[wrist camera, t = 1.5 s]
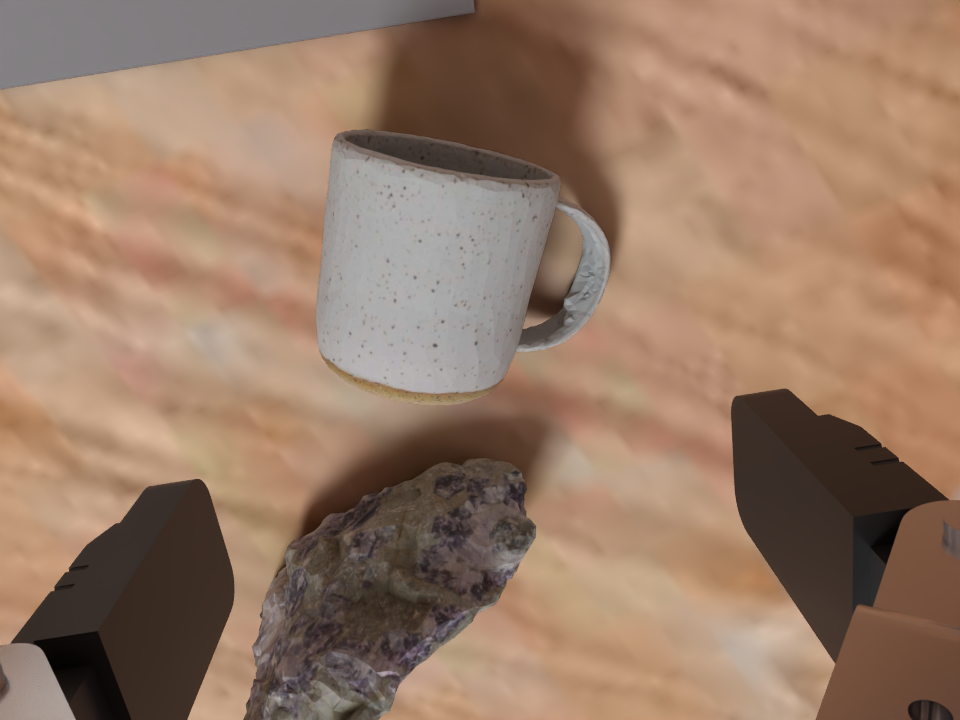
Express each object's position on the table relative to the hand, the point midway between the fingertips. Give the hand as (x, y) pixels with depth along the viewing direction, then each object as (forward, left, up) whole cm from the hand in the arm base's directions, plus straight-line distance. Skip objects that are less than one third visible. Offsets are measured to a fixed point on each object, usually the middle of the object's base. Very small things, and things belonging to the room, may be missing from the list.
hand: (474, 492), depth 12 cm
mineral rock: (+5, +14, -20) cm, 25 cm away
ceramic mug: (0, 0, -20) cm, 20 cm away
